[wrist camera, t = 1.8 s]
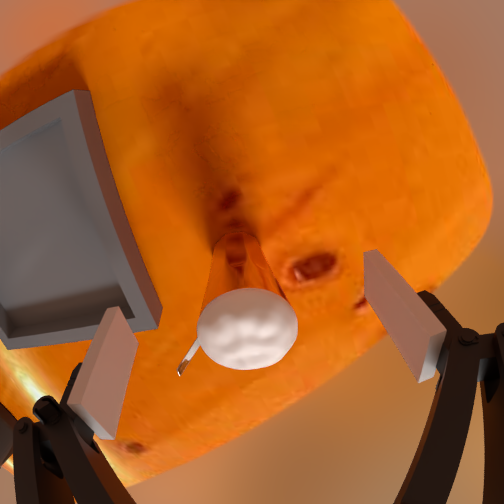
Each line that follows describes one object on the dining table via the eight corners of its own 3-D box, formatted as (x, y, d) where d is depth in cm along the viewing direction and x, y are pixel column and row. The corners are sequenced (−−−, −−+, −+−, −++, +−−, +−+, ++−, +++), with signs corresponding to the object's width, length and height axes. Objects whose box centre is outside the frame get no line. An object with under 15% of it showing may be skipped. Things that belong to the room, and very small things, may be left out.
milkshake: (184, 229, 20) (160, 332, 11) (267, 216, 20) (307, 310, 11) (199, 288, 22) (192, 404, 13) (274, 276, 22) (308, 387, 13)
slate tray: (18, 333, 22) (7, 349, 20) (-53, 177, 15) (-71, 186, 13) (162, 307, 22) (158, 328, 20) (89, 90, 15) (73, 89, 13)
